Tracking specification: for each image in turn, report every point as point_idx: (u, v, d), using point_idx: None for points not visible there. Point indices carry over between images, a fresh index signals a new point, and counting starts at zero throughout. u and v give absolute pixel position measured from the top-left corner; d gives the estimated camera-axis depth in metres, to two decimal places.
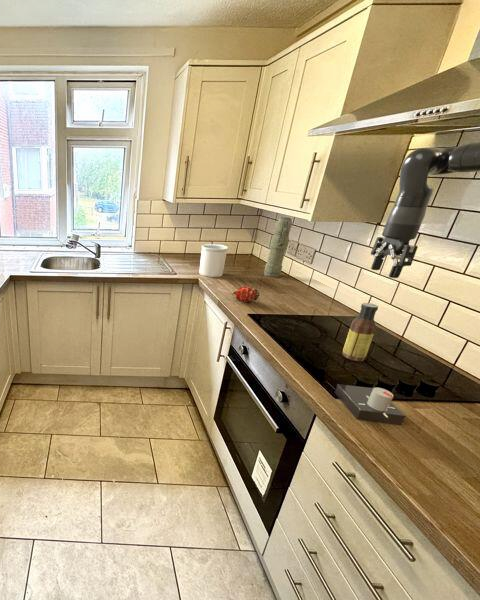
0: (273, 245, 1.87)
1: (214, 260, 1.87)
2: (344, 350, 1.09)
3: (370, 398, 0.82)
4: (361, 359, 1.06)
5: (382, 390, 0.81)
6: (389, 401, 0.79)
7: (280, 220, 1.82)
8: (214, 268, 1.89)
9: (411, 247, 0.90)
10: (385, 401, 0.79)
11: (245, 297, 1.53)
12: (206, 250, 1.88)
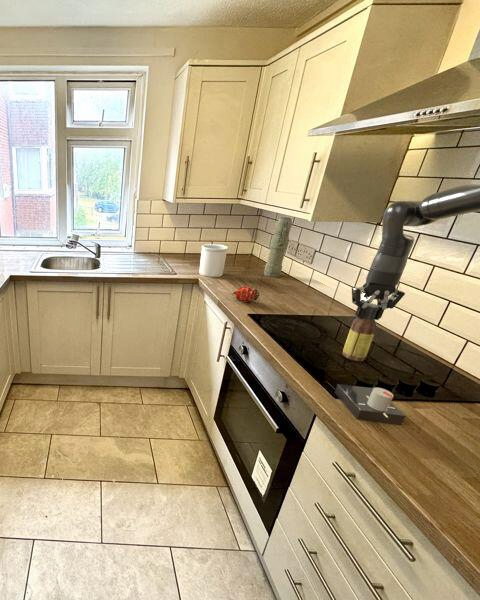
0: (273, 245, 1.87)
1: (214, 260, 1.87)
2: (344, 350, 1.09)
3: (370, 398, 0.82)
4: (361, 359, 1.06)
5: (382, 390, 0.81)
6: (389, 401, 0.79)
7: (280, 220, 1.82)
8: (214, 268, 1.89)
9: (353, 289, 1.02)
10: (385, 401, 0.79)
11: (245, 297, 1.53)
12: (206, 250, 1.88)
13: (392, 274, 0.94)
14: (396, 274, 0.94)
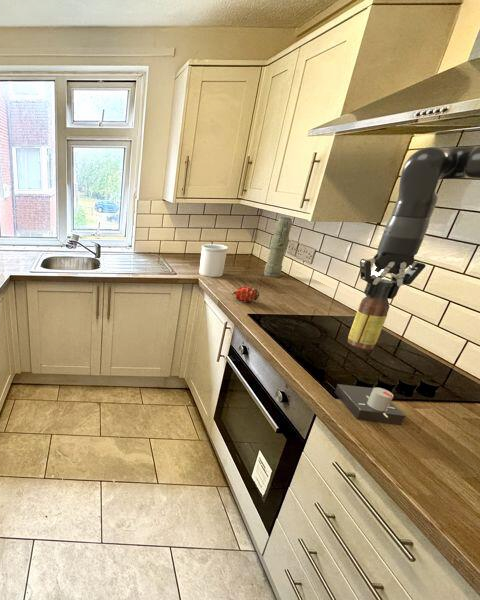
0: (273, 245, 1.87)
1: (214, 260, 1.87)
2: (350, 336, 0.92)
3: (370, 398, 0.82)
4: (370, 347, 0.89)
5: (382, 390, 0.81)
6: (389, 401, 0.79)
7: (280, 220, 1.82)
8: (214, 268, 1.89)
9: (362, 262, 0.84)
10: (385, 401, 0.79)
11: (245, 297, 1.53)
12: (206, 250, 1.88)
13: (410, 240, 0.77)
14: (415, 240, 0.77)
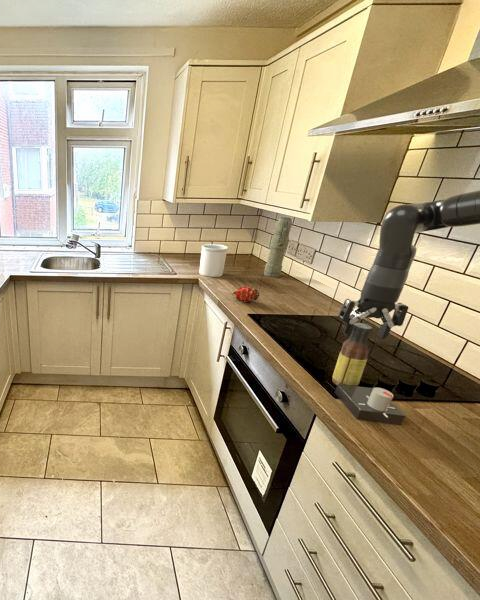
0: (273, 245, 1.87)
1: (214, 260, 1.87)
2: (334, 376, 0.95)
3: (370, 398, 0.82)
4: None
5: (382, 390, 0.81)
6: (389, 401, 0.79)
7: (280, 220, 1.82)
8: (214, 268, 1.89)
9: (347, 301, 0.87)
10: (385, 401, 0.79)
11: (245, 297, 1.53)
12: (206, 250, 1.88)
13: (391, 289, 0.80)
14: (395, 290, 0.80)
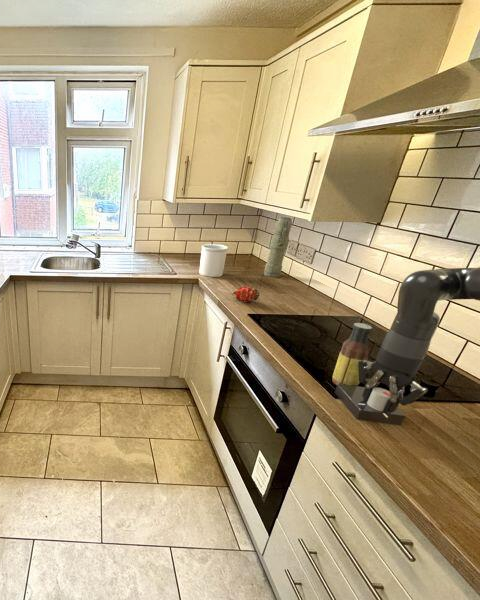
0: (273, 245, 1.87)
1: (214, 260, 1.87)
2: (334, 376, 0.95)
3: (370, 398, 0.82)
4: None
5: (382, 390, 0.81)
6: None
7: (280, 220, 1.82)
8: (214, 268, 1.89)
9: None
10: (385, 401, 0.79)
11: (245, 297, 1.53)
12: (206, 250, 1.88)
13: (389, 354, 0.75)
14: (394, 356, 0.75)
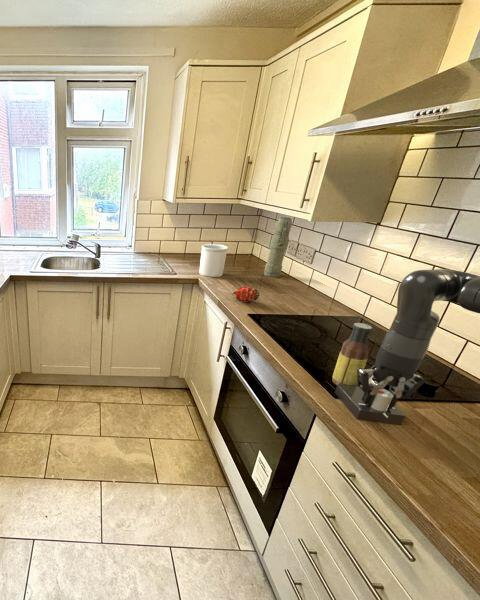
0: (273, 245, 1.87)
1: (214, 260, 1.87)
2: (334, 376, 0.95)
3: None
4: None
5: (387, 394, 0.80)
6: None
7: (280, 220, 1.82)
8: (214, 268, 1.89)
9: None
10: None
11: (245, 297, 1.53)
12: (206, 250, 1.88)
13: None
14: None
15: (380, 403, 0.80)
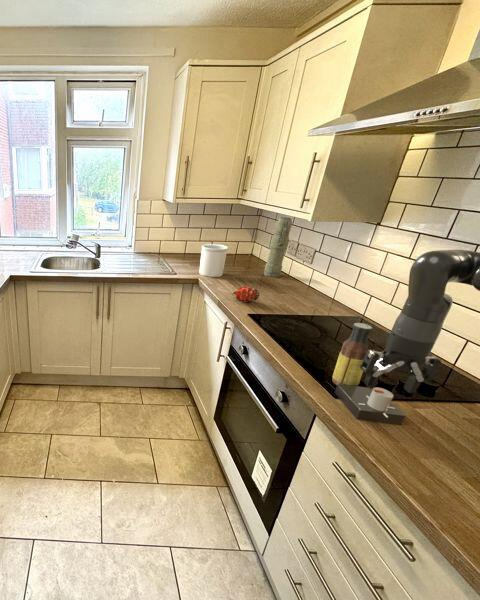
0: (273, 245, 1.87)
1: (214, 260, 1.87)
2: (334, 376, 0.95)
3: None
4: None
5: (387, 394, 0.80)
6: (371, 394, 0.82)
7: (280, 220, 1.82)
8: (214, 268, 1.89)
9: None
10: (371, 392, 0.83)
11: (245, 297, 1.53)
12: (206, 250, 1.88)
13: None
14: None
15: (380, 403, 0.80)
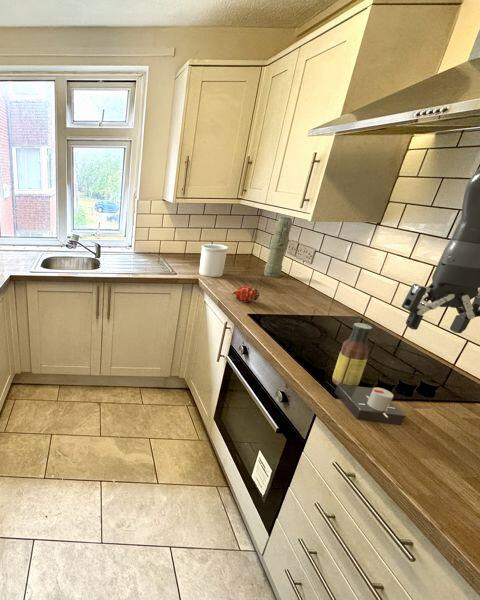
0: (273, 245, 1.87)
1: (214, 260, 1.87)
2: (334, 376, 0.95)
3: None
4: None
5: (387, 394, 0.80)
6: (371, 394, 0.82)
7: (280, 220, 1.82)
8: (214, 268, 1.89)
9: None
10: (371, 392, 0.83)
11: (245, 297, 1.53)
12: (206, 250, 1.88)
13: None
14: None
15: (380, 403, 0.80)
